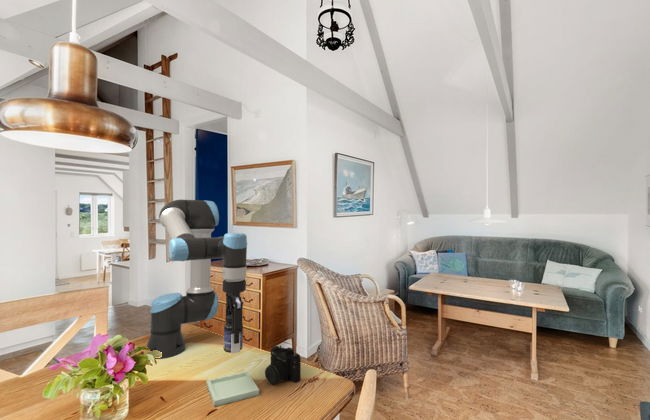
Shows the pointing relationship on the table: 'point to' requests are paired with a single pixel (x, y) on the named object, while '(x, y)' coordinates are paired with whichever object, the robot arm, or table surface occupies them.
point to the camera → (283, 366)
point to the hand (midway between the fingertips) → (233, 348)
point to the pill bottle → (228, 336)
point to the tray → (231, 388)
